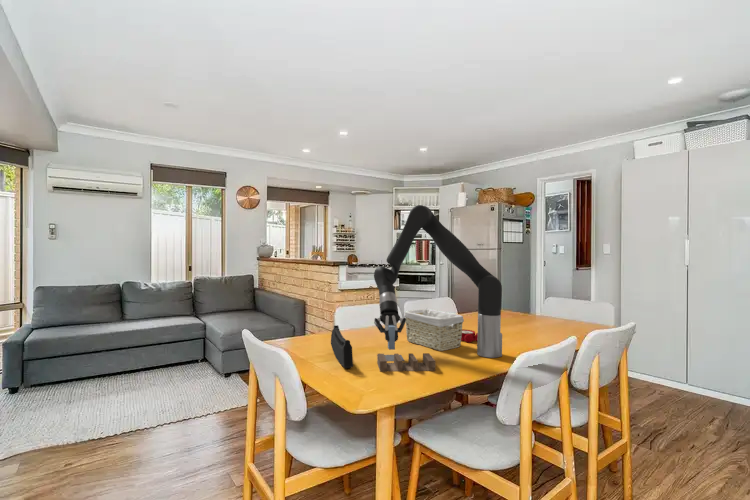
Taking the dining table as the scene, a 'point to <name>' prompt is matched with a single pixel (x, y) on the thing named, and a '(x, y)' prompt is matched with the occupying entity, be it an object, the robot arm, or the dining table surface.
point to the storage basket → (434, 328)
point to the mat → (392, 357)
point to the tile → (391, 337)
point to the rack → (412, 363)
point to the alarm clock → (469, 336)
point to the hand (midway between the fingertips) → (392, 340)
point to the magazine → (341, 348)
